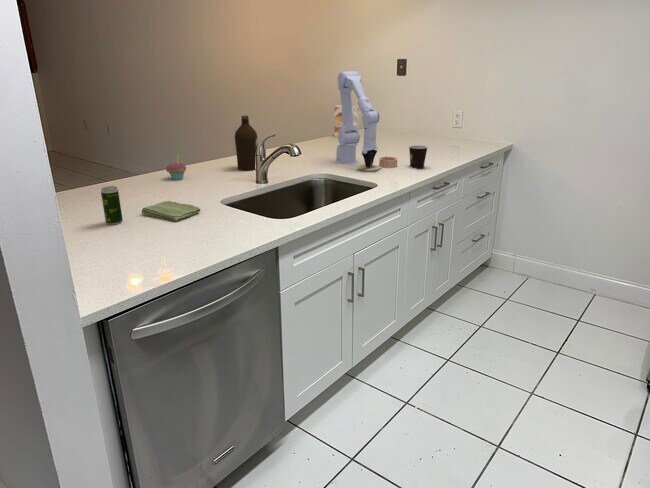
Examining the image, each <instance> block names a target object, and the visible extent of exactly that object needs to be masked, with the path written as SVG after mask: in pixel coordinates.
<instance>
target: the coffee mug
mask: <svg viewBox="0 0 650 488" xmlns="http://www.w3.org/2000/svg"><path fill="white" fill-rule="evenodd" d="M408 149H409V166H410V168H412V169H416V170H422V169H424V167H425V163H426V162H425V161H426V156H427V151H428V146H426V145H421V144H420V145H415V144H414V145H410V146H408Z"/></svg>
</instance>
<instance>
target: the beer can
mask: <svg viewBox="0 0 650 488" xmlns="http://www.w3.org/2000/svg"><path fill="white" fill-rule="evenodd" d="M100 197H101V201H102V209H103V214H104V219H105V220H104V221H105V223H106V224H107V225H109V226H116V225H117V226H118V225H120V224H122V223H123V213H122V212H123V211H122V206H121V201H120V194H119V189H118V187H117V186H115V185H111V186H109V185H108V186H103V187H101V189H100Z"/></svg>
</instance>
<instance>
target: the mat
mask: <svg viewBox="0 0 650 488" xmlns="http://www.w3.org/2000/svg"><path fill="white" fill-rule="evenodd" d="M382 169H383V167H379V170H377V171H362V170H359V168H357V169H355V171H357V172H364V173H365V172H367V173H372V174H373V173H374V174H376V173H377V172H379V171H380V170H382Z"/></svg>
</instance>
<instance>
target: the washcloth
mask: <svg viewBox="0 0 650 488" xmlns="http://www.w3.org/2000/svg"><path fill="white" fill-rule="evenodd" d="M199 212H201V208H200V207H198V206H196V205H192V204H187V203H180V202H175V201H171V200H166V201H162V202H159V203H158V202H157V203H156V204H153V205H148V206H145V207H143V208H142V210H141V214H142V215H143V216H146V217H150V218H156V219H161V220H167V221H172V222H180V221H182V220H184V219H187V218H189V217H191V216H194V215H195V214H198V213H199Z"/></svg>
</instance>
